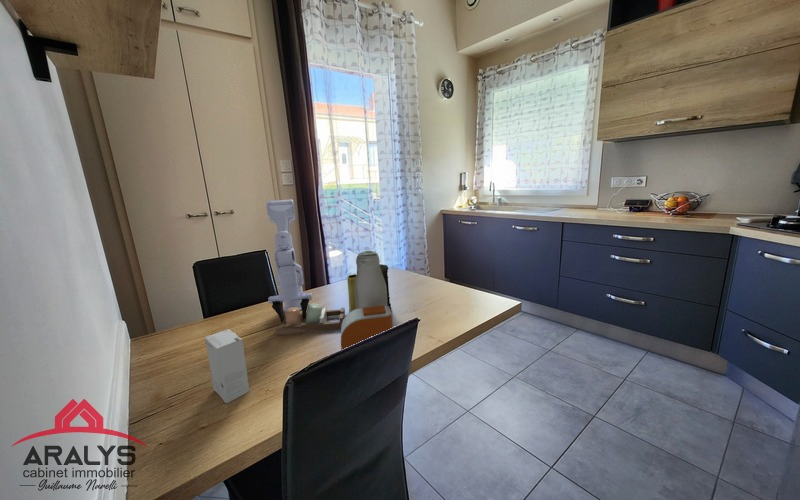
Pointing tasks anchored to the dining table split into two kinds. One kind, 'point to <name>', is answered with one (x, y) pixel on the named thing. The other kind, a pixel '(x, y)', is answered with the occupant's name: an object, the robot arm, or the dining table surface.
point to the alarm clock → (364, 324)
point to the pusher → (324, 316)
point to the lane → (316, 326)
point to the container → (386, 281)
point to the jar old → (313, 314)
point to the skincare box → (227, 365)
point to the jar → (293, 316)
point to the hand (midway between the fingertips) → (293, 319)
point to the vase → (351, 292)
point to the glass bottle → (369, 281)
